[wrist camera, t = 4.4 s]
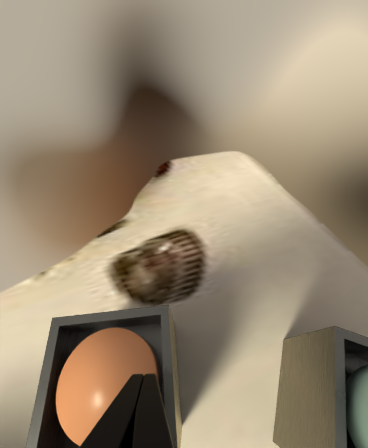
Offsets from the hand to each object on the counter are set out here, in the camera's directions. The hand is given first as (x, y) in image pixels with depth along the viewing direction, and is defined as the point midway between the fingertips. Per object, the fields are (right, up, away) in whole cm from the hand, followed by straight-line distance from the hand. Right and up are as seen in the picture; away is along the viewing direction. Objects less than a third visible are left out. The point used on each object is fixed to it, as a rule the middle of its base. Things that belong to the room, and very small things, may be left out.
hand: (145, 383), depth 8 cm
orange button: (-3, -4, +6) cm, 8 cm away
